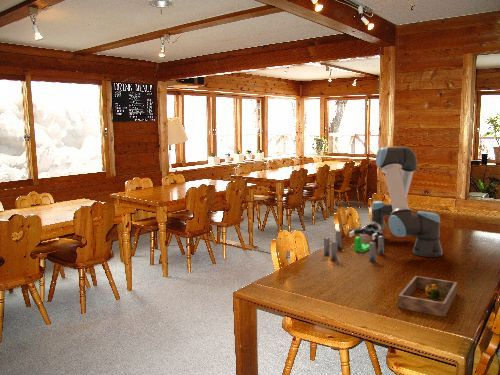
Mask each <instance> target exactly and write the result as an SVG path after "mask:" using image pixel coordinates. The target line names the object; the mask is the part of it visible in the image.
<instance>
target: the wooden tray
mask: <svg viewBox="0 0 500 375" xmlns="http://www.w3.org/2000/svg"><path fill="white" fill-rule="evenodd" d="M426 281H427V282H426ZM427 283H428V284H429V285H430V284H435V285H437V286H438V285H439V288H441V287H442V290H443V291H442V292H444V291H445V292H444V293H446V295H445V296H446V297H445V300H444V299H443V300H442V301H439V302H437V300H436V301H433V300H432V299H431V300H430V299H427V298H420V297H413V296H412V295H413V293H414V292H415V291H416V289H420V290H421V289H422V290H425V289H426V287H427V286H428V284H427ZM457 289H458V282H457V281H452V280H451V281H450V280H445V279H438V278H433V277H432V278H431V277H426V276H419V275H415V276H413V278H411V280H410V281H409V282H408V283H407V285H406V286H405V287H404V288H403V289H402V291H401V292H400V293H399V294H398V302H397V303H398V305H397V306H398V307H397V308H398V309H404V310H408V311H412V312H413V311H414V312H419V313H424V314H429V315H434V316H439V317H443V318H444V317H446V315H447V313H448V311H449V310H450V308H451V305H452V303H453V302H454V300H455V299H456V296H457V293H458V290H457ZM440 290H441V289H440ZM446 291H448V293H447V292H446ZM442 302H443V303H442Z"/></svg>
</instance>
